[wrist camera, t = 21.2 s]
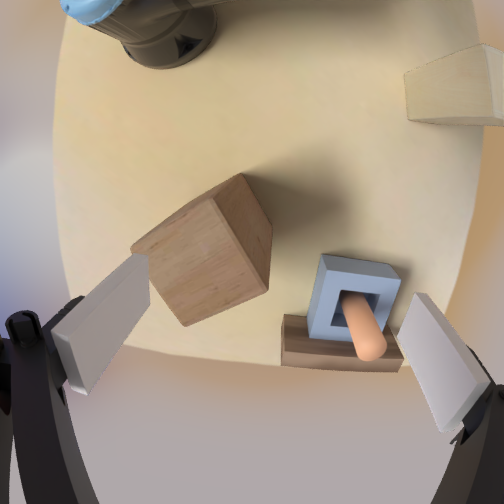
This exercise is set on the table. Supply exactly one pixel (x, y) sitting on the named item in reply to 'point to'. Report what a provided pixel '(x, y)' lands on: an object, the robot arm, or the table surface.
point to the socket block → (353, 279)
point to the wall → (331, 350)
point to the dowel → (362, 326)
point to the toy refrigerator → (458, 89)
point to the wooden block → (210, 252)
